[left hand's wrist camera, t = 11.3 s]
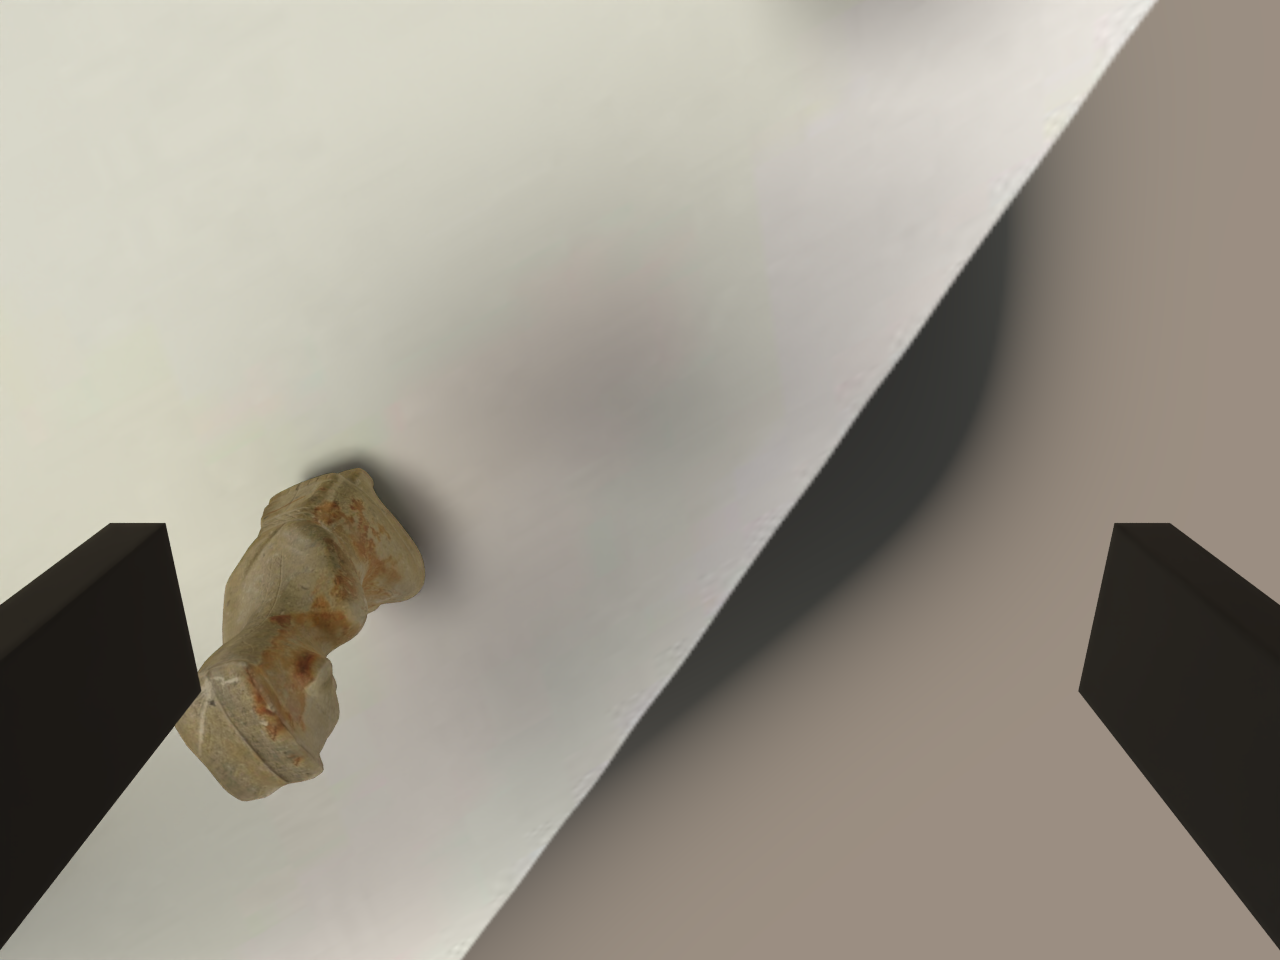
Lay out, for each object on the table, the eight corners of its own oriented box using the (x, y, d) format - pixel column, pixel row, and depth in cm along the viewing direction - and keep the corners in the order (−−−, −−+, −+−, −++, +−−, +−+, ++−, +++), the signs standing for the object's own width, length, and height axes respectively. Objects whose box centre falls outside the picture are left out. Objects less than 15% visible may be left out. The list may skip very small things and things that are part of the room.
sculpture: (341, 608, 43) (199, 836, 29) (269, 478, 41) (77, 660, 27) (450, 571, 43) (358, 788, 29) (385, 437, 40) (249, 603, 26)
